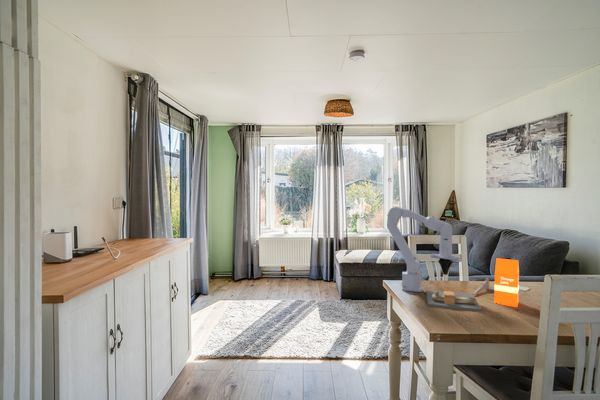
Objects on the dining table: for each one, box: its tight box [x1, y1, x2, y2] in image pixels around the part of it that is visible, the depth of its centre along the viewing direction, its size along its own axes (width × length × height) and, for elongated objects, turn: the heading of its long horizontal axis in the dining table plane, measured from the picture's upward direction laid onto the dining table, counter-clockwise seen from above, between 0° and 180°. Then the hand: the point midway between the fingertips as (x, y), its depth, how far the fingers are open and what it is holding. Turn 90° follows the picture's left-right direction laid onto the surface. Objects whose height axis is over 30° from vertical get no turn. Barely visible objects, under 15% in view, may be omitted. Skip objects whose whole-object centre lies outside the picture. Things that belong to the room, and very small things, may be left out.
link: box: [432, 290, 477, 304], centre depth 148 cm, size 18×4×4 cm, turn 73°
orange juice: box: [493, 257, 520, 308], centre depth 150 cm, size 8×9×20 cm
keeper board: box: [425, 290, 482, 312], centre depth 153 cm, size 21×21×5 cm
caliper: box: [472, 276, 490, 297], centre depth 166 cm, size 20×1×6 cm, turn 132°
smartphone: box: [519, 285, 531, 292], centre depth 176 cm, size 7×1×15 cm
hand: (445, 274), depth 165 cm, fingers closed
